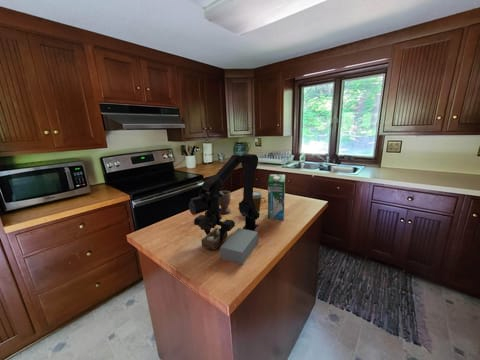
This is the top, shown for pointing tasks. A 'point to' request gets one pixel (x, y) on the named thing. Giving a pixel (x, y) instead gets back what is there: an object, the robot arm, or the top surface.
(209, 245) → the walnut tray
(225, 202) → the mortar and pestle
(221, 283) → the top surface
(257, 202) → the disposable coffee cup
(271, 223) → the top surface
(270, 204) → the milk carton
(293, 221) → the top surface
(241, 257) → the grey shelf
